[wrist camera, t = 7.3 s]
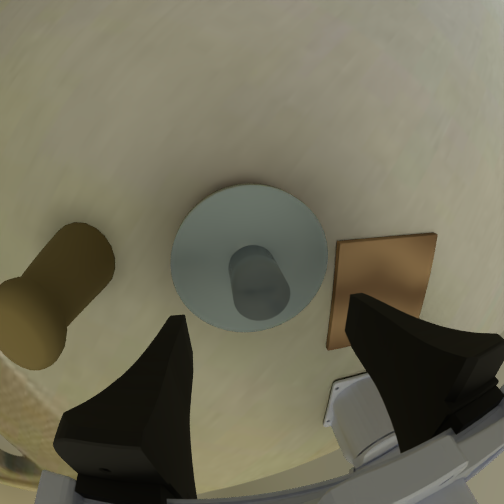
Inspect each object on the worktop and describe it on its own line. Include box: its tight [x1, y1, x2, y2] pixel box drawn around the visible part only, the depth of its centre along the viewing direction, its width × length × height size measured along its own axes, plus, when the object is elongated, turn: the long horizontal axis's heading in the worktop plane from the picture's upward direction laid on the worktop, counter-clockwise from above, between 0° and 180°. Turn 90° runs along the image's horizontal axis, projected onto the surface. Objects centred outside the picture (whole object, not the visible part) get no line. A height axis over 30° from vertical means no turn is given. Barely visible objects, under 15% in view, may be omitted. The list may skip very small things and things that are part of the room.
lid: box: [171, 184, 328, 332], centre depth 16 cm, size 10×10×4 cm
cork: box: [0, 222, 115, 370], centre depth 15 cm, size 6×6×11 cm
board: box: [326, 233, 437, 351], centre depth 25 cm, size 11×11×1 cm
